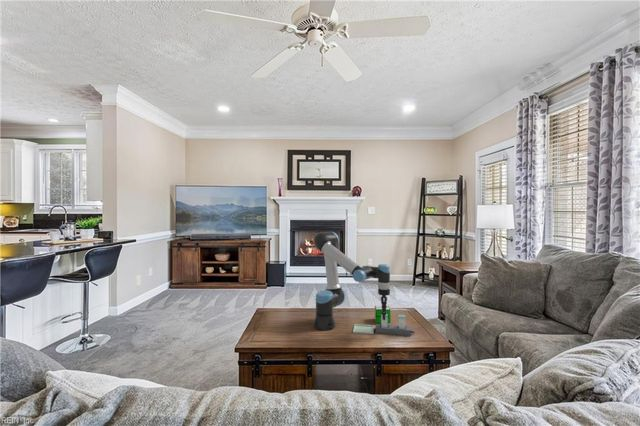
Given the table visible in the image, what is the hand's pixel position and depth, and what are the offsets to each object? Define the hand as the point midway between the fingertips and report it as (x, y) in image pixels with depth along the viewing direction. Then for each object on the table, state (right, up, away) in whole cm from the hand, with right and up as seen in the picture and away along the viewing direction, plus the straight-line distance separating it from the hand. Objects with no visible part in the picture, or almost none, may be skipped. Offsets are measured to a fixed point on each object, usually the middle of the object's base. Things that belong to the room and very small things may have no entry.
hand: (383, 320), depth 196 cm
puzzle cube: (+3, -8, +20) cm, 21 cm away
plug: (0, -7, 0) cm, 7 cm away
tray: (-13, -7, +3) cm, 15 cm away
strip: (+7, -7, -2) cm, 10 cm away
